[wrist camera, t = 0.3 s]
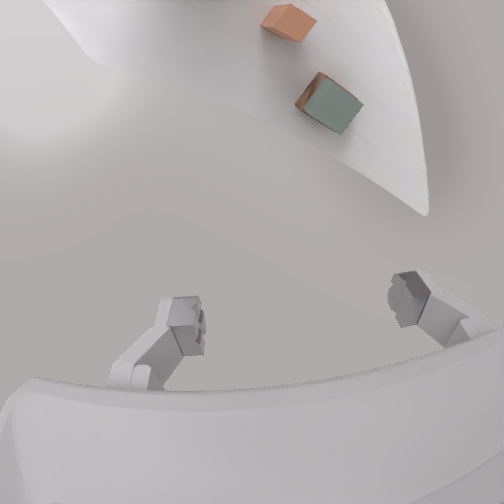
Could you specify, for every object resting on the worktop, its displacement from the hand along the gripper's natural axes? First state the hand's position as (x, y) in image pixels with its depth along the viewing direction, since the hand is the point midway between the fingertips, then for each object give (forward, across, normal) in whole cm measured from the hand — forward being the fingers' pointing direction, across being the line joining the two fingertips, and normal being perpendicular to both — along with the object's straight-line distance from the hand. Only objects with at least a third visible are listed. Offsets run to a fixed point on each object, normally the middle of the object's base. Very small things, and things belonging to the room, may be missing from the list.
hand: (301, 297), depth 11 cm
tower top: (+48, -16, -4) cm, 50 cm away
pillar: (+46, -7, -20) cm, 51 cm away
